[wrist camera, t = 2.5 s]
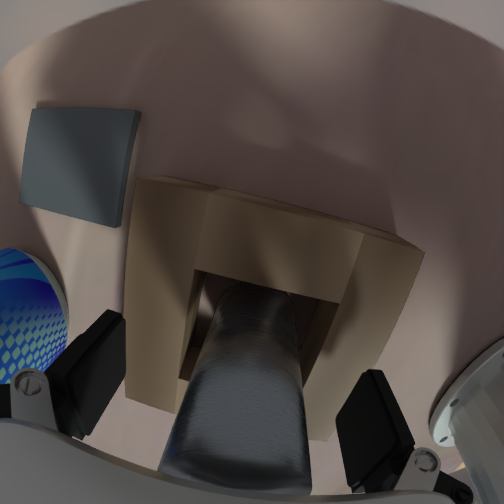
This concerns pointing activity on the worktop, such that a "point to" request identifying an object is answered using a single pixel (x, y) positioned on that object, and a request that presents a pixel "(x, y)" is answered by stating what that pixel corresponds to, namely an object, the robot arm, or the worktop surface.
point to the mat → (79, 162)
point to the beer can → (29, 314)
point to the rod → (245, 401)
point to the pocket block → (261, 273)
